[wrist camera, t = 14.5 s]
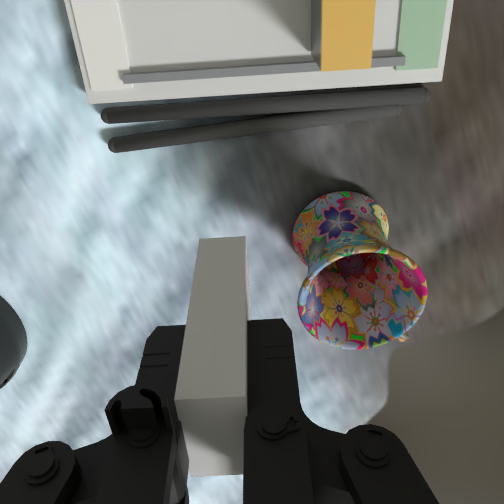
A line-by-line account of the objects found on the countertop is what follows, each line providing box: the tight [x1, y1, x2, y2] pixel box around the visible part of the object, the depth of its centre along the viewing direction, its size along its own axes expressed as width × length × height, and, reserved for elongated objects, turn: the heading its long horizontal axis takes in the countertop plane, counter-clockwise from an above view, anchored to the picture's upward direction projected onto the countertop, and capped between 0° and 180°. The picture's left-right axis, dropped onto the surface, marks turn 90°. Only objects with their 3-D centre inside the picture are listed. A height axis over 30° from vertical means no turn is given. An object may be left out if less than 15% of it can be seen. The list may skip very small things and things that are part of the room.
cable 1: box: [101, 87, 430, 124], centre depth 37 cm, size 25×1×1 cm, turn 93°
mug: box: [293, 191, 427, 350], centre depth 40 cm, size 12×9×11 cm
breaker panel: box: [64, 0, 454, 104], centre depth 33 cm, size 26×10×2 cm, turn 94°
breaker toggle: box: [311, 0, 376, 72], centre depth 30 cm, size 3×5×6 cm, turn 3°
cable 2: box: [108, 104, 402, 153], centre depth 38 cm, size 23×1×1 cm, turn 97°
